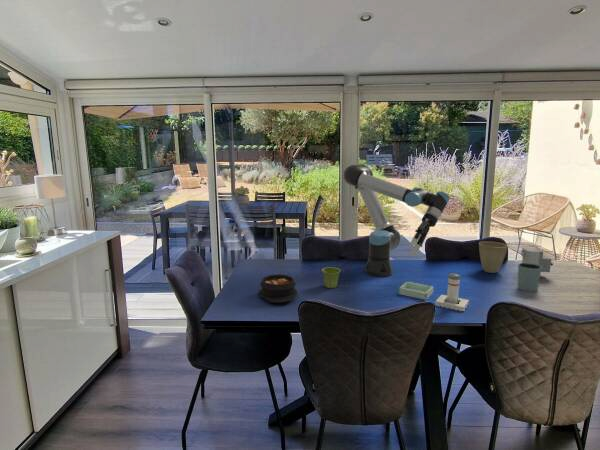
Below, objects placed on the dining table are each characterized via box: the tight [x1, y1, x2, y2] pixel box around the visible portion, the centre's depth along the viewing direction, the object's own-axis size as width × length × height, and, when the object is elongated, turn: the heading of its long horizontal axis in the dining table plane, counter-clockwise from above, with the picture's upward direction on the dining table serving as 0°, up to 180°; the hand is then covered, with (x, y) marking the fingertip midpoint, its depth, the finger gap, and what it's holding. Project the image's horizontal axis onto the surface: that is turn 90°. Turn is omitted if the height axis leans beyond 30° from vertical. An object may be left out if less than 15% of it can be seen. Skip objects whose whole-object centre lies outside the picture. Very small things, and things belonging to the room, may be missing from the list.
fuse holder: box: [434, 294, 470, 312], centre depth 175 cm, size 12×10×2 cm
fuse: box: [446, 273, 461, 304], centre depth 174 cm, size 5×5×14 cm
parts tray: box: [398, 281, 434, 301], centre depth 189 cm, size 13×11×3 cm
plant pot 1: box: [321, 266, 341, 289], centre depth 198 cm, size 9×9×9 cm
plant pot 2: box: [478, 241, 509, 274], centre depth 224 cm, size 15×15×16 cm
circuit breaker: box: [520, 247, 554, 279], centre depth 215 cm, size 8×14×15 cm, turn 78°
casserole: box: [258, 274, 299, 304], centre depth 185 cm, size 25×19×8 cm
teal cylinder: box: [517, 262, 542, 292], centre depth 196 cm, size 10×10×12 cm
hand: (412, 249), depth 202 cm, fingers open, 13 cm apart
